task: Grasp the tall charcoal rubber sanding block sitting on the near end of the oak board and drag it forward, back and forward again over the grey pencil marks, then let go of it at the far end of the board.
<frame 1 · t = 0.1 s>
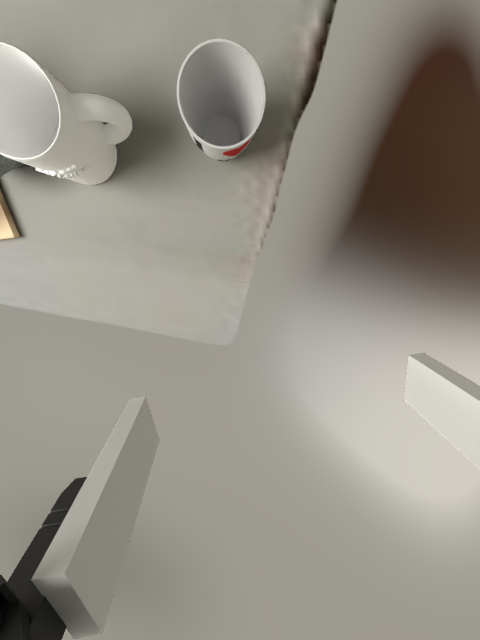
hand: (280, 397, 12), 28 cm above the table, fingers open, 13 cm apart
mug: (101, 148, 32), on the table
mortar and pestle: (5, 132, 30), on the table
cup: (221, 137, 32), on the table
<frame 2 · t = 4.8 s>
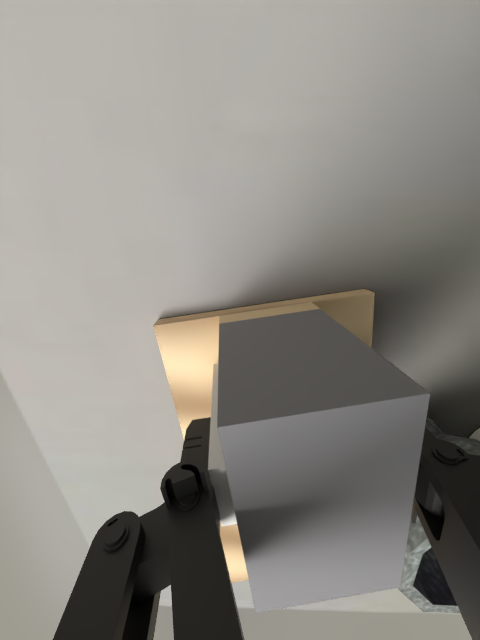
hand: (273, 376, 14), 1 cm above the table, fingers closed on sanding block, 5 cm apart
board: (278, 459, 18), on the table
mortar and pestle: (400, 438, 19), on the table
sanding block: (272, 373, 15), point 1 cm above the table, touching board, gripper
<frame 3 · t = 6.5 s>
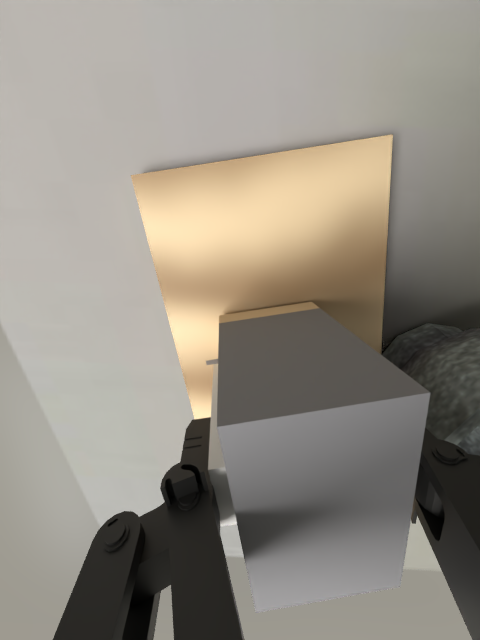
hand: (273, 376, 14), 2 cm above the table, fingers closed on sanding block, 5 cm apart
board: (281, 371, 16), on the table
mortar and pestle: (420, 355, 16), on the table, touching gripper
sanding block: (272, 372, 15), point 1 cm above the table, touching gripper
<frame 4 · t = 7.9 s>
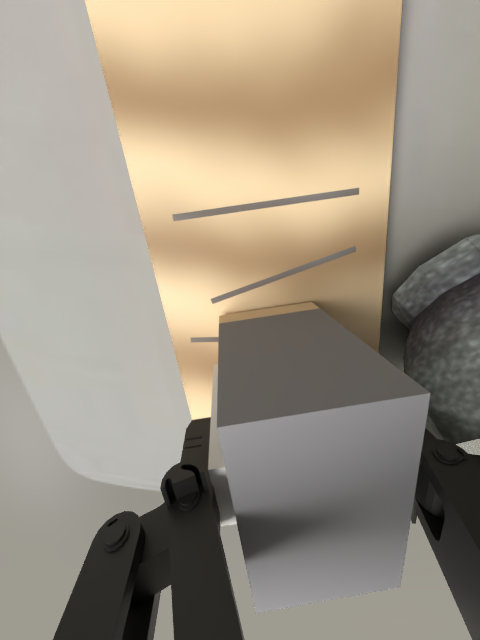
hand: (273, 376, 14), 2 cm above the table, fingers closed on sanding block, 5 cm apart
board: (267, 246, 13), on the table
mortar and pestle: (451, 268, 12), point 2 cm above the table, touching gripper
sanding block: (272, 373, 15), point 1 cm above the table, touching gripper
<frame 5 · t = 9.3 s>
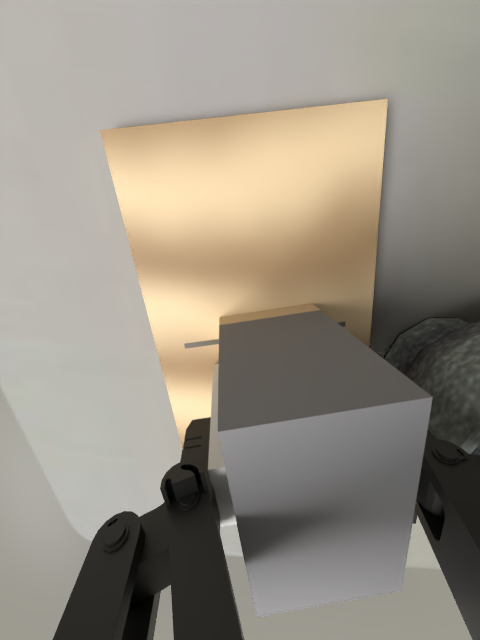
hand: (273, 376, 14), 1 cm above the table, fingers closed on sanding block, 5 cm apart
board: (265, 358, 15), on the table
mortar and pestle: (425, 350, 16), on the table
sanding block: (272, 374, 15), point 1 cm above the table, touching gripper
when the fingers open (1 cm above the table, at t = 13.2 s): sanding block stays where it is, resting on board.
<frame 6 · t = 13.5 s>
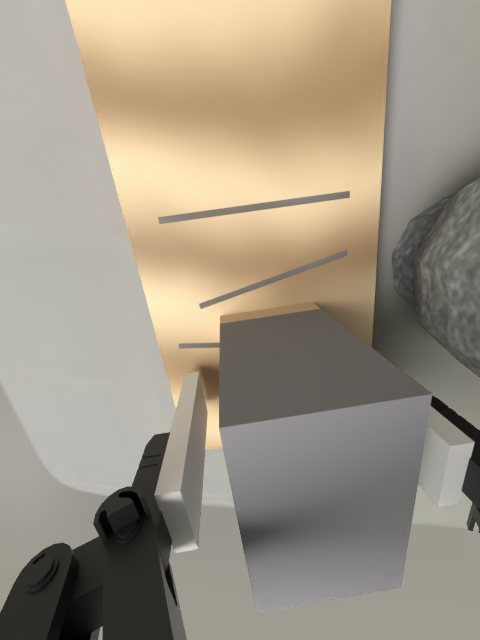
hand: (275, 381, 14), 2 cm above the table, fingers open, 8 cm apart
board: (256, 250, 13), on the table
mortar and pestle: (441, 244, 14), on the table
sanding block: (272, 373, 15), point 1 cm above the table, touching board
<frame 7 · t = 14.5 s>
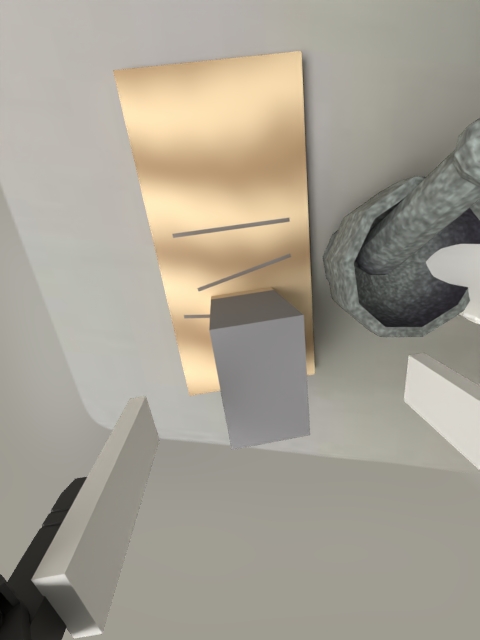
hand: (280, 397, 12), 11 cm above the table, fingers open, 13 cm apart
board: (234, 253, 20), on the table
mug: (454, 255, 23), on the table
mortar and pestle: (354, 249, 22), on the table
sanding block: (247, 336, 22), point 1 cm above the table, touching board
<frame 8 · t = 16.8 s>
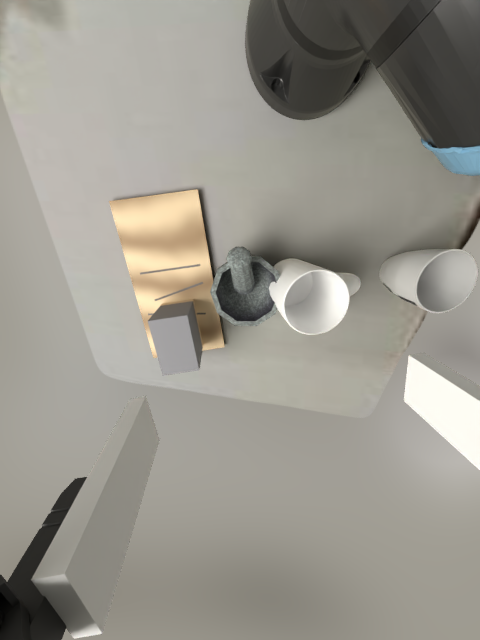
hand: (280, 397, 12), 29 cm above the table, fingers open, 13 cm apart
board: (174, 281, 38), on the table
mug: (301, 281, 40), on the table
mortar and pestle: (241, 278, 39), on the table
sanding block: (183, 325, 40), point 1 cm above the table, touching board
cup: (393, 270, 41), on the table
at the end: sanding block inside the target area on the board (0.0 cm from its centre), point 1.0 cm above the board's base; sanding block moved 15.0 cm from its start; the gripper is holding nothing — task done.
